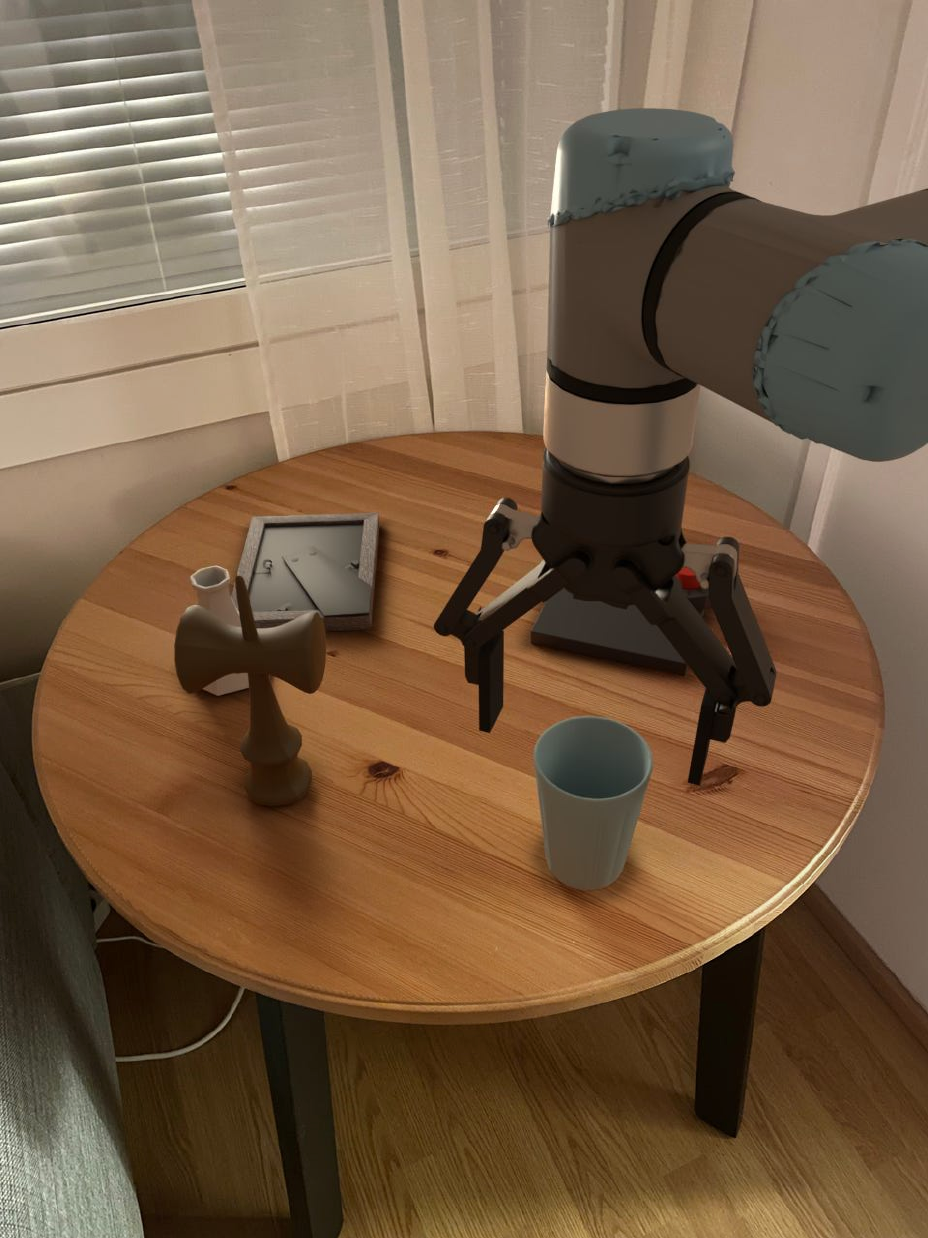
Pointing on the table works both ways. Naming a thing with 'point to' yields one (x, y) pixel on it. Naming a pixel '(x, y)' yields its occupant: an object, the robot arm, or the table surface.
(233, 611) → the flask
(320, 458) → the table surface
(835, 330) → the robot arm
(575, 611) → the scale
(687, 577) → the button
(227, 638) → the kendama
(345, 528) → the picture frame
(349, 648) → the table surface
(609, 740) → the cup
